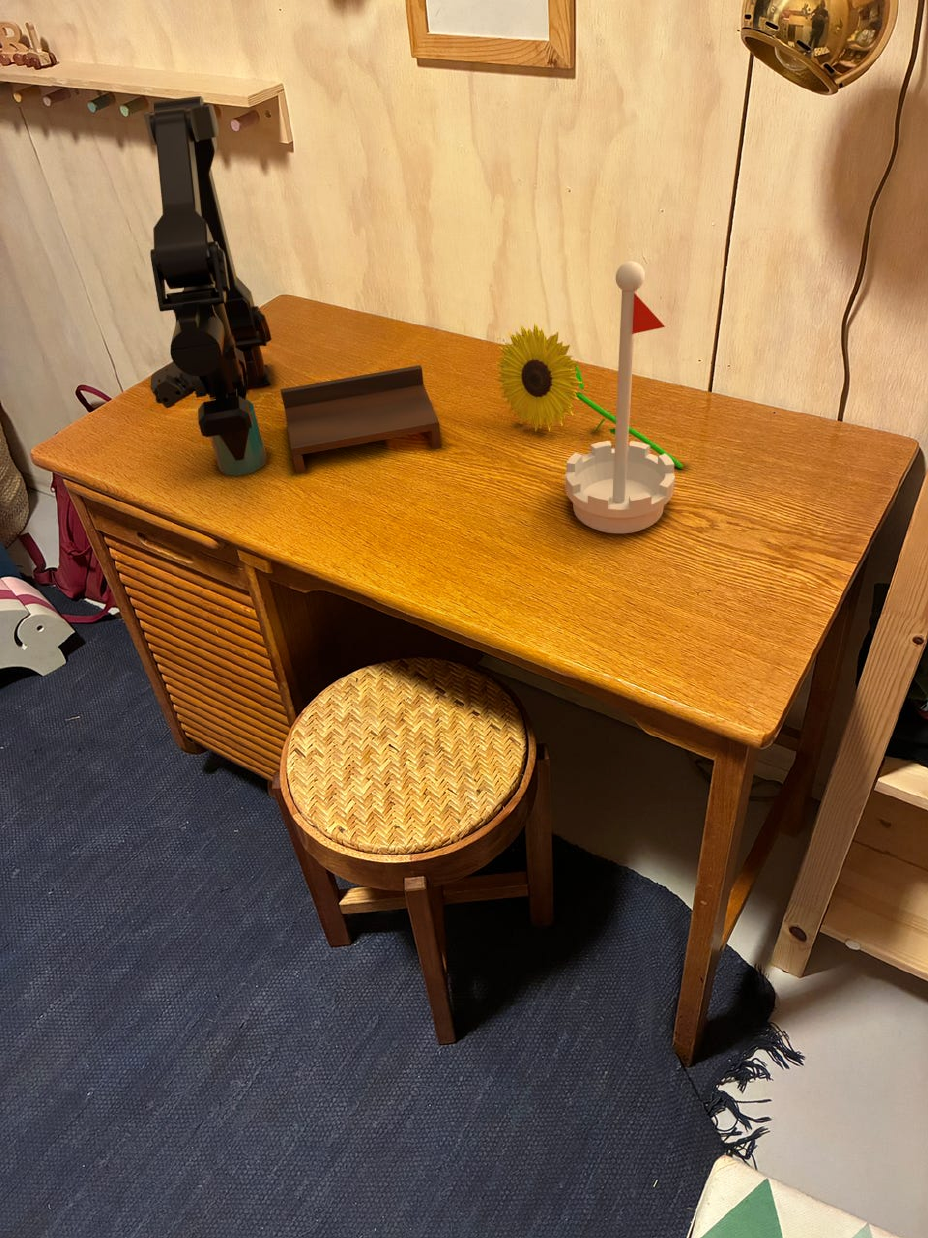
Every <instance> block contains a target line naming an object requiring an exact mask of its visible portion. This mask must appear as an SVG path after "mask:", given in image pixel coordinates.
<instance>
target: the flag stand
mask: <svg viewBox="0 0 928 1238" xmlns="http://www.w3.org/2000/svg"><path fill="white" fill-rule="evenodd" d="M645 274H646V273H645V270H644V268H643V266H642V265H641V264H640V263H638V262H636V261H627V262H624V263H622V264H621V265H620V266H619V267H618V269H617V270H616V273H615V282H616V285H617V287H618V288H619V289H620V290H621V301H620V302H621V303H620V304H621V305H620V322H619V323H620V325H619V348H618V367H617V368H618V369H617V390H616V413H615V417H616V424H615V428H616V431H615V435H614V448H612V443H611V440H606V441H599V442H596V443H592V444H590V452H588V453H586V454H584V455H583V454H580V453H578V452H574V453H573V454H572V455H571V456H570V457H569V458H568V460H567V462H566V463H565V464H566V467H565V468H566V470H565V475H564V491H565V494H566V495H567V497H568V499H569V500H570V501H571V502H572V505H573V506H572V507H573V512H574V515H575V517H576V518H577V519H578V521H580V522H581V523H582V524H584V525H585V526H587V527H589V528H591V529H594V530H596V531H600V532H602V533H603V532H604V533H609V534H630V533H636V532H639V531H642V530H646V529H648V528H649V527H652V526H653V525H654V524H656V523H657V522H658V521H659V520H660V519H661V518H662V516H663V513H664V508H665V506H666V505H667V504H668V503H669V501H670V500H671V499H672V497H673V495H674V492H675V485H676V476H675V473H674V472H675V465H674V463H673V461H672V459H671V458H670V457H669V456H668V455H667V454H666V453H665V454H662V455H660V454H659V455H658V456H657V455H656V454H655V455H654V454H652V453H650V452H651V448H650V445H648V444H645V443H644V442H642V441H635V440H630V442H629V435H630V433H629V426H630V420H631V419H630V417H631V399H632V382H633V381H632V380H633V365H634V347H635V334H639V333H643V332H649V331H653V330H658V329H662V328H665V327H666V326H665V324H663V322H661V320H660V319H659V318H658V317H657V316H656V315H655V313H654V312H653V311H652V310H651V309H650V308H649V307H648V306H647V305H646V304H645V303H644V301H643V300H642V299H641V298H640V297H639V296H638V295H637V293H638V290H639V289H640V288H641V287H642V286H643V284H644V281H645V277H646V276H645Z"/></svg>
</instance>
